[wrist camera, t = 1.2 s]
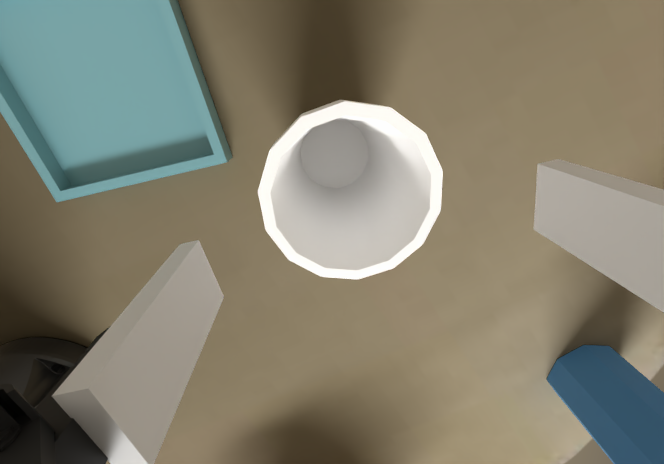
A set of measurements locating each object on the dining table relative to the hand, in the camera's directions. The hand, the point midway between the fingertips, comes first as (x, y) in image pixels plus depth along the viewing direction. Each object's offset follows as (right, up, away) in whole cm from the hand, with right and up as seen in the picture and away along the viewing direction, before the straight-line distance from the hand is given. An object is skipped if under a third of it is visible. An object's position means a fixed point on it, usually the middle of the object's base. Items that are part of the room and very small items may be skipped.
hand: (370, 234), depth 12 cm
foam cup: (-1, +7, +16) cm, 17 cm away
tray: (-19, +11, +12) cm, 25 cm away
